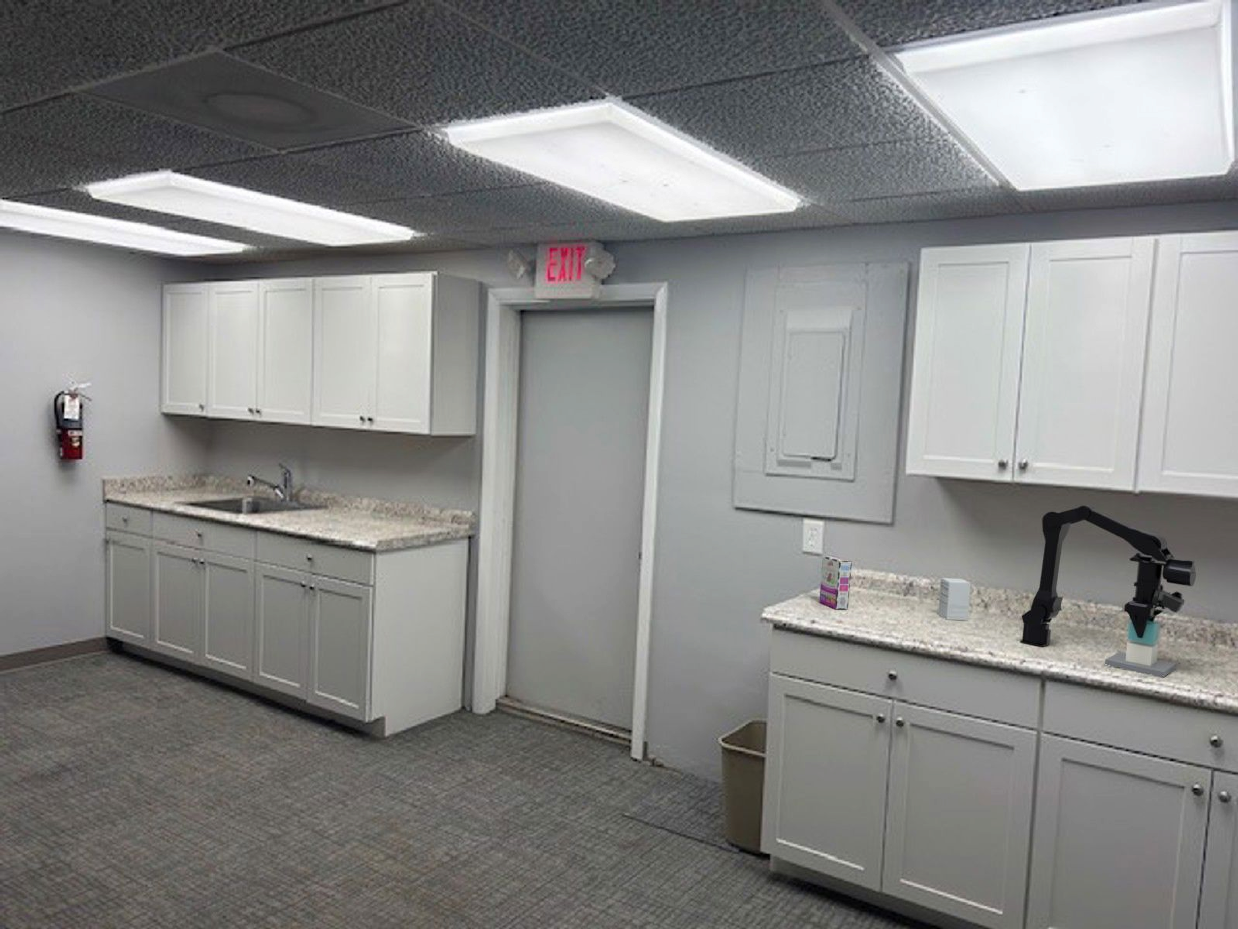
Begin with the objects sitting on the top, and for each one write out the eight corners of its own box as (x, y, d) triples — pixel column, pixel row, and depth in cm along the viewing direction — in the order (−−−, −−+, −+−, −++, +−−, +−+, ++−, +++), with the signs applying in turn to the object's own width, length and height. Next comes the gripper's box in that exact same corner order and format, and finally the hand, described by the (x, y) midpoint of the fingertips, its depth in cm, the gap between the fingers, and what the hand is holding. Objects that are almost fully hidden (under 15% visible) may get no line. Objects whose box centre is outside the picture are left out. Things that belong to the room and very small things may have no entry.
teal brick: (1127, 639, 240) (1129, 621, 240) (1133, 636, 245) (1135, 618, 244) (1152, 644, 236) (1154, 625, 236) (1158, 640, 241) (1159, 622, 240)
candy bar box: (849, 610, 293) (852, 561, 292) (835, 610, 291) (839, 561, 290) (831, 602, 303) (834, 555, 302) (818, 602, 302) (822, 555, 301)
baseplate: (1104, 665, 241) (1105, 659, 241) (1119, 657, 251) (1119, 651, 251) (1163, 677, 231) (1163, 672, 231) (1176, 669, 241) (1176, 663, 241)
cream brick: (1125, 660, 241) (1127, 642, 240) (1131, 657, 245) (1133, 639, 245) (1150, 666, 236) (1152, 647, 236) (1156, 662, 241) (1158, 644, 241)
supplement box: (958, 616, 294) (962, 578, 293) (968, 621, 287) (971, 582, 286) (937, 614, 294) (940, 577, 293) (946, 620, 286) (949, 581, 286)
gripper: (1174, 588, 227) (1168, 648, 228) (1191, 581, 241) (1185, 638, 242) (1126, 581, 235) (1120, 638, 236) (1144, 574, 248) (1139, 629, 249)
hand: (1143, 636), depth 240 cm, fingers closed on teal brick, 6 cm apart
